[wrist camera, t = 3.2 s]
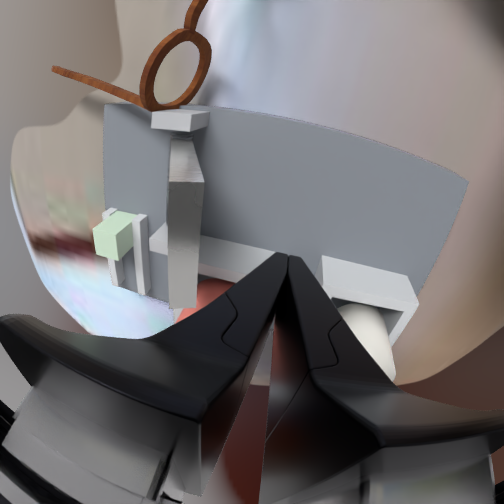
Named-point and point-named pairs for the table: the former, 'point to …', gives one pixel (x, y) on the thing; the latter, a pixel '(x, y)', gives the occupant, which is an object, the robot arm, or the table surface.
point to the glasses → (153, 63)
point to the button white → (370, 333)
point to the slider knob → (114, 235)
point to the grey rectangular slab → (183, 220)
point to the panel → (281, 204)
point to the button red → (206, 294)
